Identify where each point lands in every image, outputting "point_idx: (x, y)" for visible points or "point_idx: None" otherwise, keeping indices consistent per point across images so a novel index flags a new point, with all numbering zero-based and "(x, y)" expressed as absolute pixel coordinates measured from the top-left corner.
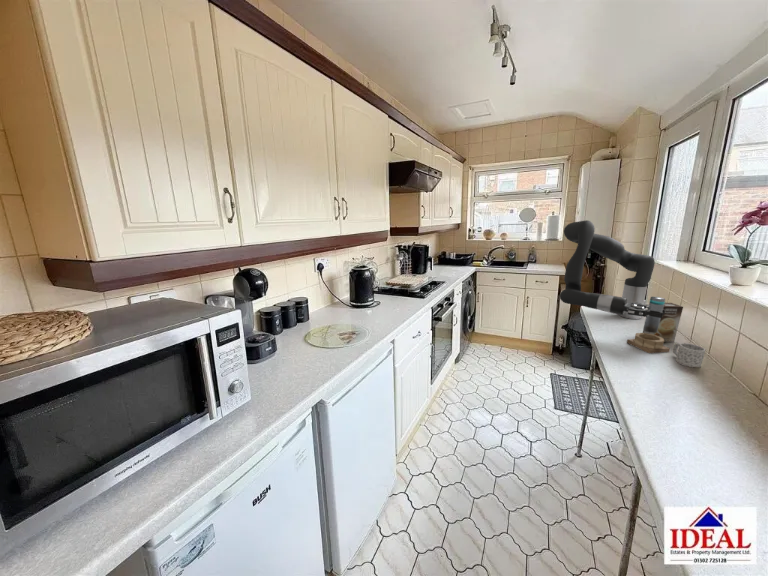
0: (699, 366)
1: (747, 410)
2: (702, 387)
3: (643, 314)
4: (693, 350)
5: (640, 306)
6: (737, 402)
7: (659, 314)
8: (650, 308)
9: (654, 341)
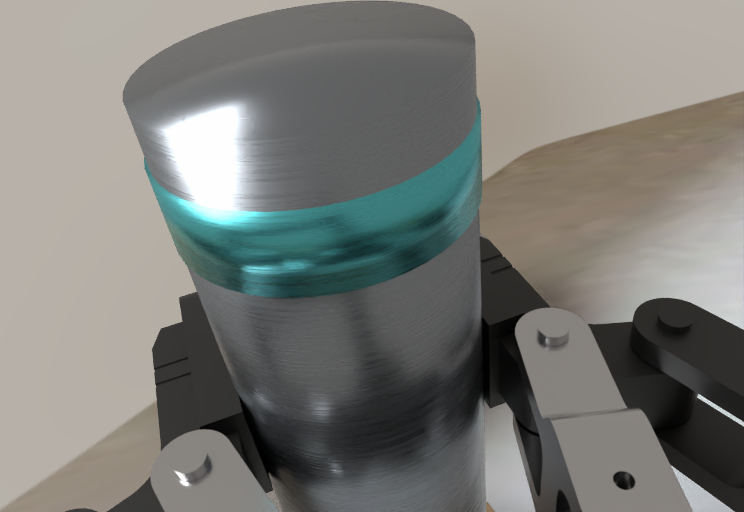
0: None
1: (658, 132)
2: (667, 218)
3: (693, 395)
4: (484, 237)
5: (589, 493)
6: (636, 153)
7: (484, 248)
8: (476, 322)
9: (490, 507)
